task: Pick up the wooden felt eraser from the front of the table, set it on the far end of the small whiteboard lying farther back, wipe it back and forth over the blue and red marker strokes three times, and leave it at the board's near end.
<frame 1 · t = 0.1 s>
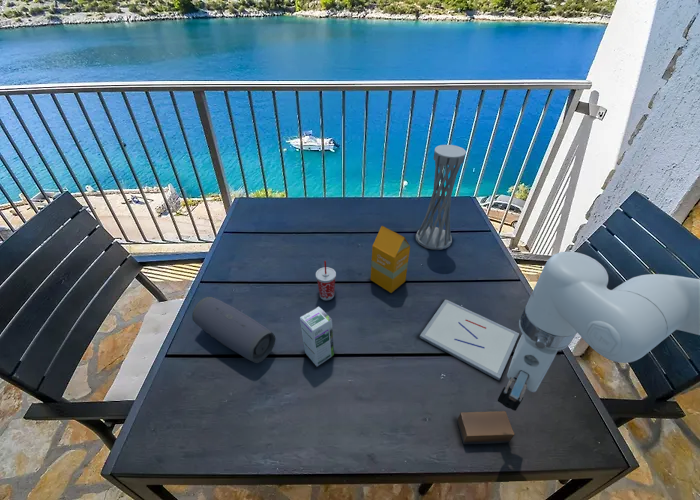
hand: (514, 384, 64), 20 cm above the table, tool pointing down, fingers open, 9 cm apart
syrup box: (319, 354, 92), on the table
bluetooth speaker: (237, 340, 96), on the table
orange juice: (387, 280, 115), on the table
grey lattice tower: (433, 239, 133), on the table
eraser: (482, 431, 77), on the table
board: (469, 336, 97), on the table
beverage cup: (327, 295, 109), on the table
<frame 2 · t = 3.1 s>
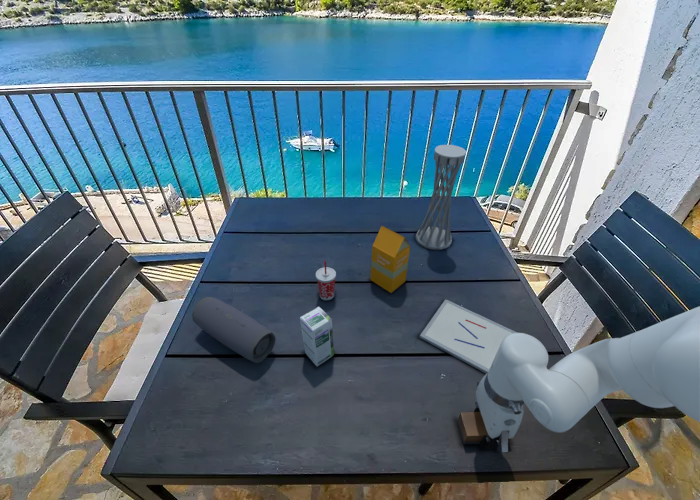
hand: (482, 430, 76), 0 cm above the table, tool pointing down, fingers closed on eraser, 5 cm apart
eraser: (482, 431, 77), on the table, touching gripper
everything else where it was.
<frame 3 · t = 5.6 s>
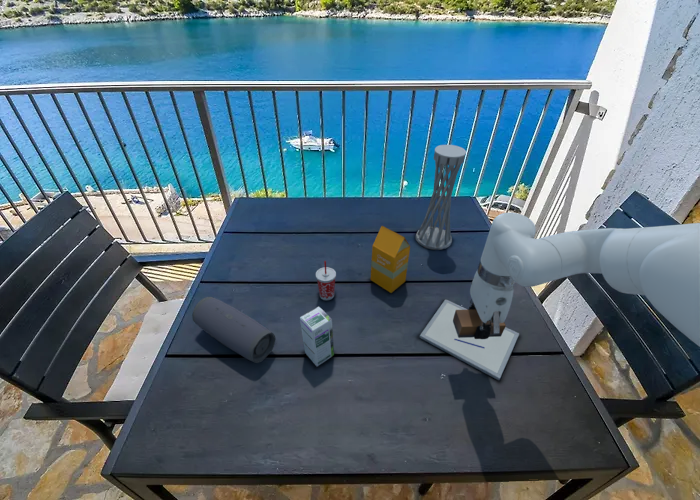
hand: (476, 327, 82), 14 cm above the table, tool pointing down, fingers closed on eraser, 5 cm apart
eraser: (476, 328, 82), point 14 cm above the table, touching gripper
everything else where it was.
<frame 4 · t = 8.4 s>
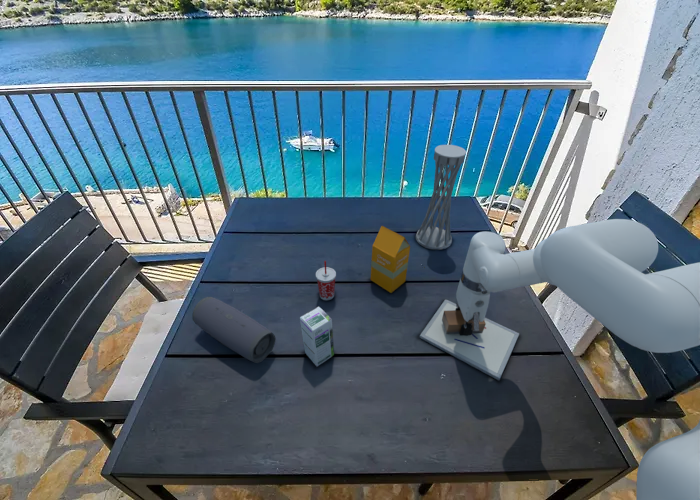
hand: (462, 325, 97), 3 cm above the table, tool pointing down, fingers closed on eraser, 5 cm apart
eraser: (461, 326, 97), point 2 cm above the table, touching gripper
everything else where it was.
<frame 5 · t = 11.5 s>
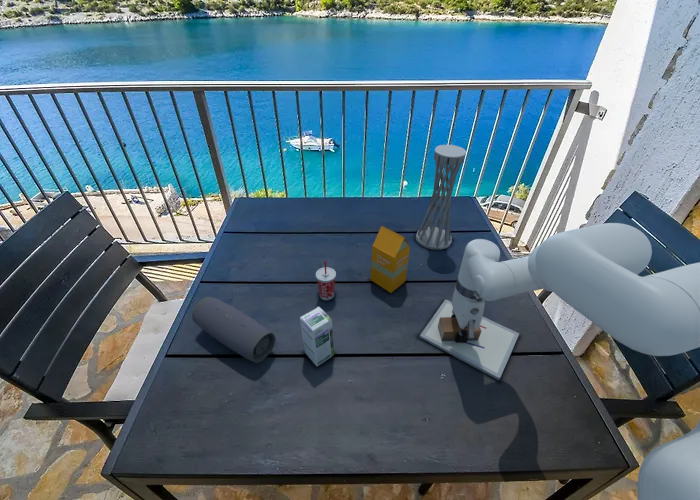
hand: (457, 332, 96), 1 cm above the table, tool pointing down, fingers closed on eraser, 5 cm apart
eraser: (457, 333, 96), point 1 cm above the table, touching gripper
everything else where it was.
when the fingers open (1 cm above the table, at t = 14.0 s): eraser stays where it is, resting on board.
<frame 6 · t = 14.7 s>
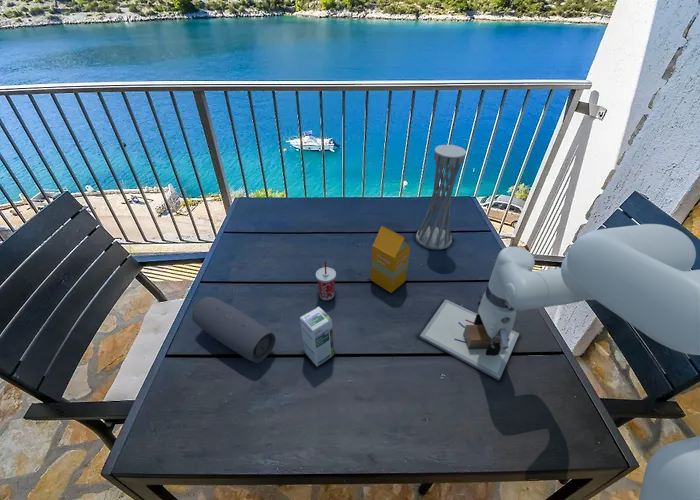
hand: (485, 338, 94), 2 cm above the table, tool pointing down, fingers open, 9 cm apart
eraser: (483, 341, 94), point 1 cm above the table, touching board
everything else where it was.
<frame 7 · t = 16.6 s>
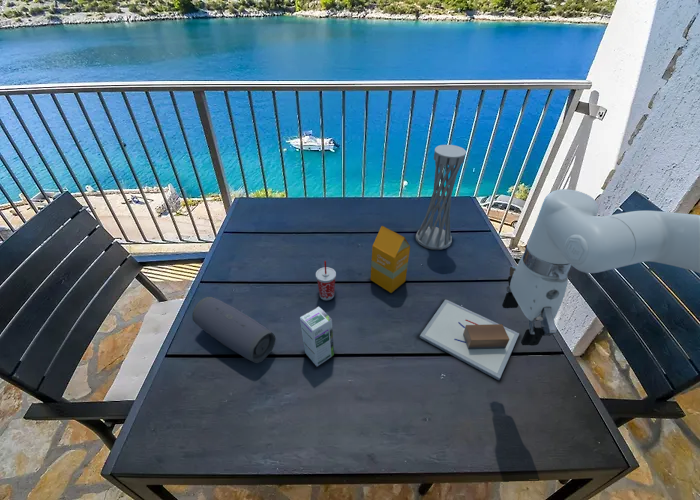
hand: (518, 324, 71), 23 cm above the table, tool pointing down, fingers open, 9 cm apart
nothing on the table moved.
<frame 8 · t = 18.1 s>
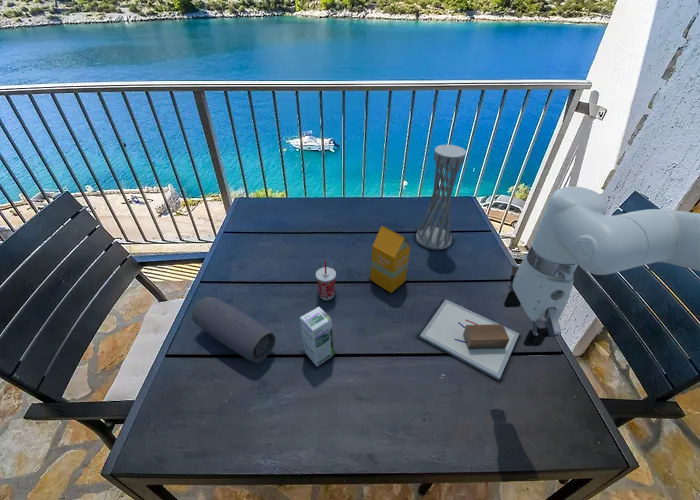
hand: (521, 324, 69), 24 cm above the table, tool pointing down, fingers open, 9 cm apart
nothing on the table moved.
at the end: eraser inside the target area on the board (1.1 cm from its centre), point 1.0 cm above the board's base; eraser moved 24.4 cm from its start; eraser tilted 0° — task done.
